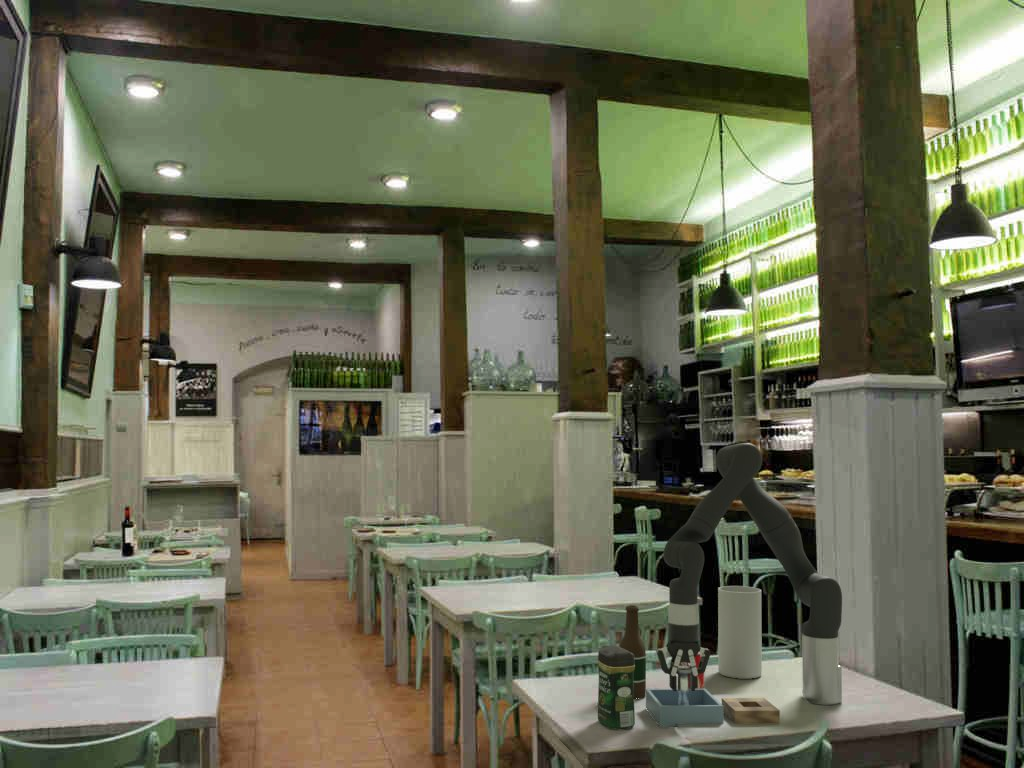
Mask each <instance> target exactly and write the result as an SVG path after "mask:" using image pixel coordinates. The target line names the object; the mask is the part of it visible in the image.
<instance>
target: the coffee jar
mask: <svg viewBox="0 0 1024 768" xmlns="http://www.w3.org/2000/svg"><path fill="white" fill-rule="evenodd" d="M597 655H598V656H597V667H598V668H597V669H598V691H597V692H598V693H597V694H598V695H597V696H598V697H597V698H598V700H597V721H598V722H599V724H601V725H602V726H604V727H606V728H607V729H610V730H619V729H624V730H627V729H630V728H632V727H634V726H635V722H636V720H635V719H636V718H635V716H636V715H635V712H636V711H635V699H634V669H635V659H634V654H633V653H631V652H629V651H627V650H625V649H623V648H621V647H619V645H617V644H613V645H612V644H611V645H602V646H601V648H600V649H599V650H598V653H597Z"/></svg>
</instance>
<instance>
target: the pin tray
mask: <svg viewBox="0 0 1024 768" xmlns="http://www.w3.org/2000/svg"><path fill="white" fill-rule="evenodd" d="M677 697H678V688H677V691H673V690H672V689H671V688H646V694H645V709H646V708H647V710H648V711H649V712H648V711H647V710H646V711H647V712H648V714H649V713H650V714H651V715H652V716H651V715H650V714H649V715H650V716H651V718H652V717H653V718H654V719H655V720H654V719H653V718H652V719H653V720H654V722H655V721H656V722H657V723H658V724H657V723H656V722H655V723H656V724H657V726H658V725H659V726H660V727H679V726H678V724H679V725H680V724H724V712H723V705H722V702H720V701H719V700H718V699H717V698H716V697H715V696H714V695H713V694H712V693H711V692H710V691H708V689H707V688H704V689H695V691H691V690H690V689H689V705H677ZM659 726H658V727H659ZM660 727H659V728H660Z"/></svg>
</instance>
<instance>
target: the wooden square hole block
mask: <svg viewBox="0 0 1024 768" xmlns="http://www.w3.org/2000/svg"><path fill="white" fill-rule="evenodd" d="M721 704H722V705H723V714H724V715H726V716H727V717H728V719H730V720H731V722H733V724H735V725H737V724H738V725H742V724H743V725H745V724H747V725H748V724H750V725H751V724H752V725H754V724H757V725H759V724H760V725H761V724H762V725H763V724H781V715H780V714H781V711H780V709H779V708H777V707H776V706H775V705H773V703H771V702H770V701H769V700H767V698H765V697H722V698H721Z"/></svg>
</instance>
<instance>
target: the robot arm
mask: <svg viewBox="0 0 1024 768" xmlns="http://www.w3.org/2000/svg"><path fill="white" fill-rule="evenodd" d="M715 463H716V468H717V470H718V472H719V474H720V475H721V477H722V479H720V481H719V483H717V485H715V487H713V488H712V489H711V490H710V491H709V492H708V493H707V494H706V495H705V496H704V497H703V498H702V499H701V500H700V502H699V503H698V504H697V505H696V506H695V508H694V510H693V512H692V513H691V515H690V517H689V518H688V519H687V521H686V523H685V524H684V525H683V526H681V527H680V528H679V529H678V530H677V531H676V532H675V533H674V534H673V535H672V536H671V537H670V538H669V539H668V541H667V542H666V543H665V546H664V547H663V553H662V555H663V560H664V563H665V564H667V566H669V567H671V568H675V569H679V570H680V569H681V573H680V575H679V577H677V578H673V579H671V580H670V582H669V586H668V587H669V588H668V589H669V590H668V591H669V593H668V594H669V598H668V599H669V600H668V603H669V604H668V611H667V612H668V613H667V617H668V618H667V619H668V620H667V621H668V622H667V627H668V628H667V631H668V632H667V638H668V639H667V644H666V645H665V646H664V647H661V648H656V649H655V652H656V655H657V657H658V661H659V665H660V667H661V671H662V672H663V673H664V674H667V675H668V676H669V689H672V690H673V691H677V689H678V675H677V674H676V672H677V668H678V667H679V663H682V662H687V663H688V664H689V667H691V669H692V674H691V675H690V690H691V691H695V689H697V676H698V675H699V674H701V673H704V674H705V672H706V670H707V666H708V664H709V660H710V657H711V654H712V653H711V652H712V651H711V650H710V649H708V648H707V647H701V645H700V642H699V637H700V636H699V633H700V632H699V629H700V628H699V624H700V623H699V622H700V616H699V615H700V613H699V606H698V601H699V600H698V599H699V598H698V596H699V595H698V593H699V592H698V588H699V583H700V580H701V576H702V573H703V568H704V564H705V552H704V550H703V547H702V546H701V545H700V544H701V543H705V542H708V541H709V540H710V539H711V537H712V536H713V534H714V532H715V531H716V529H717V527H718V526H719V523H720V522H721V521H722V519H723V517H724V516H725V514H726V512H727V511H728V510H729V508H730V507H731V505H732V504H733V503H734V501H735V500H736V499H737V498H738V499H739V500H740V502H741V504H742V506H743V507H744V509H745V510H746V511H747V513H748V514H749V516H750V517H751V519H752V520H753V522H754V524H755V525H756V527H757V529H758V530H759V532H760V534H761V536H762V537H763V539H764V541H765V542H766V543H767V545H768V547H769V548H770V550H771V551H772V553H773V554H774V556H775V557H776V559H777V560H778V561H779V563H780V565H781V566H782V568H783V570H784V572H785V573H786V575H787V578H788V579H789V582H790V583H791V585H792V587H793V590H794V592H795V595H797V597H798V599H799V601H800V602H801V603H803V604H804V606H807V607H809V618H808V620H807V621H805V622H803V623H802V625H801V632H802V633H801V635H802V636H801V647H802V648H801V650H802V651H801V653H802V655H801V657H802V658H801V659H802V664H801V665H802V691H801V692H802V698H803V699H805V700H806V701H807V702H808V703H811V704H815V705H822V706H823V705H825V706H828V705H829V706H830V705H836V704H842V703H843V692H842V691H843V685H842V684H843V682H842V680H843V678H842V674H843V673H842V671H843V670H842V666H841V665H839V630H840V628H841V625H842V617H843V616H842V615H843V613H842V610H843V595H842V588H841V586H840V584H839V583H838V581H837V580H836V579H834V578H832V577H830V576H827V575H823V574H820V573H819V572H818V571H817V570H816V568H815V567H814V566H813V564H812V563H811V561H810V560H809V559H808V557H807V555H806V552H805V550H804V546H803V540H802V539H803V538H802V535H801V532H800V529H799V527H798V524H796V522H795V520H794V519H793V517H792V516H791V514H790V512H789V511H788V509H787V508H786V507H785V505H783V504H782V503H781V502H780V501H778V500H777V498H775V497H773V496H772V495H771V494H770V493H769V492H767V491H765V490H764V488H762V487H761V486H760V485H759V483H758V482H757V481H756V480H755V476H756V475H757V474H758V473H759V471H760V470H761V468H762V465H763V457H762V454H761V451H760V448H758V446H757V445H754V444H753V443H750V442H743V443H742V442H741V443H737V444H735V443H734V444H731V445H726V446H724V447H722V448H720V449H719V450H718V451H717V453H716V456H715ZM699 543H700V544H699ZM699 651H700V655H701V659H700V662H699V665H698V668H696V663H695V659H694V658H695V657H696V656H697V654H698V653H699ZM667 652H668V653H669V655H670V656H671V659H670V664H669V665H670V666H669V667H668V664H667V660H666V657H667Z"/></svg>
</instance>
